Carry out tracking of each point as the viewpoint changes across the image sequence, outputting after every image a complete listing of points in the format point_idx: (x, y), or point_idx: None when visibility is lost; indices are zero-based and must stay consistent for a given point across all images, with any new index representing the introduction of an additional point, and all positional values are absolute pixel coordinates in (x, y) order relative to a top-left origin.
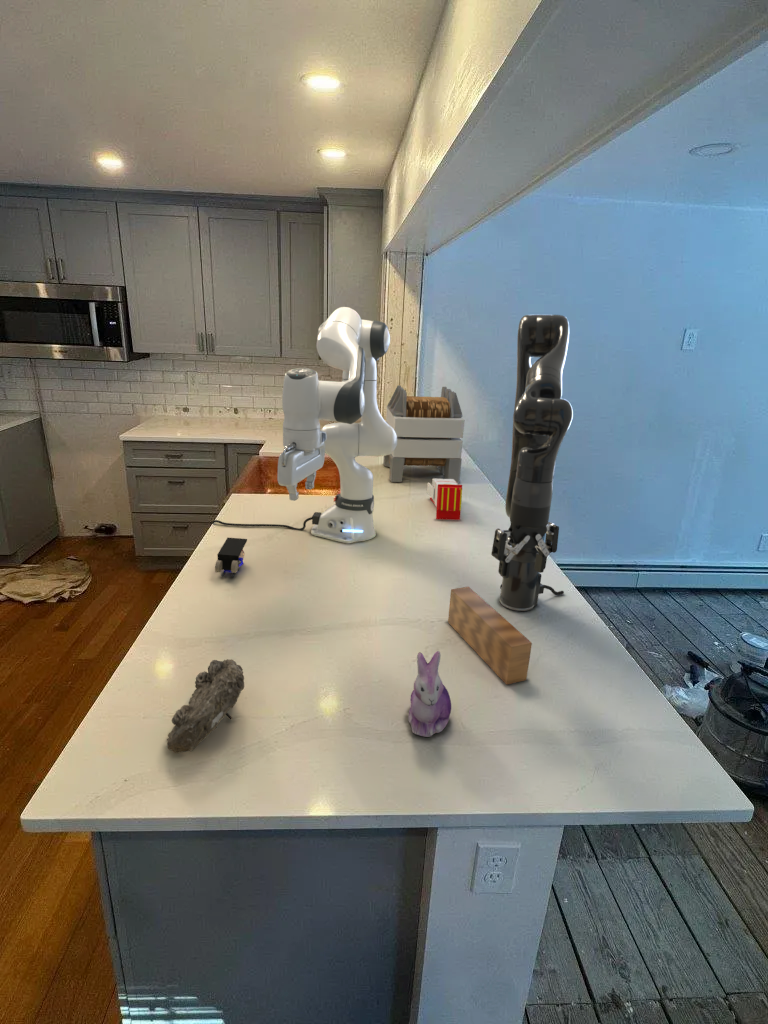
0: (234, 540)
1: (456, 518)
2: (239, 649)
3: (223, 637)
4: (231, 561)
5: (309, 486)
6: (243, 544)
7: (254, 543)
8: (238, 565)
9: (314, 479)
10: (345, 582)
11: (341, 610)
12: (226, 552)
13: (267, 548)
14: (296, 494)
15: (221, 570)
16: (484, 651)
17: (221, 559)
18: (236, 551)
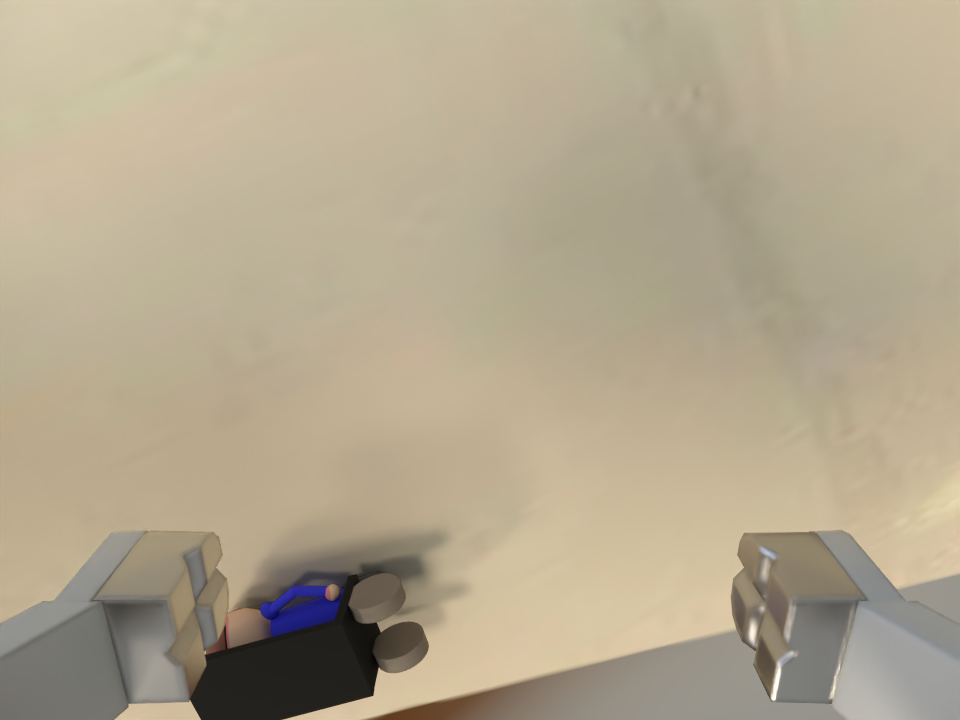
0: (220, 703)
1: None
2: (879, 302)
3: (810, 393)
4: (358, 626)
5: (195, 589)
6: (232, 656)
7: None
8: (348, 591)
9: (9, 627)
10: (187, 103)
11: (470, 12)
12: (340, 675)
13: (67, 576)
14: (888, 588)
15: (393, 626)
16: None
17: (371, 664)
18: (309, 648)
